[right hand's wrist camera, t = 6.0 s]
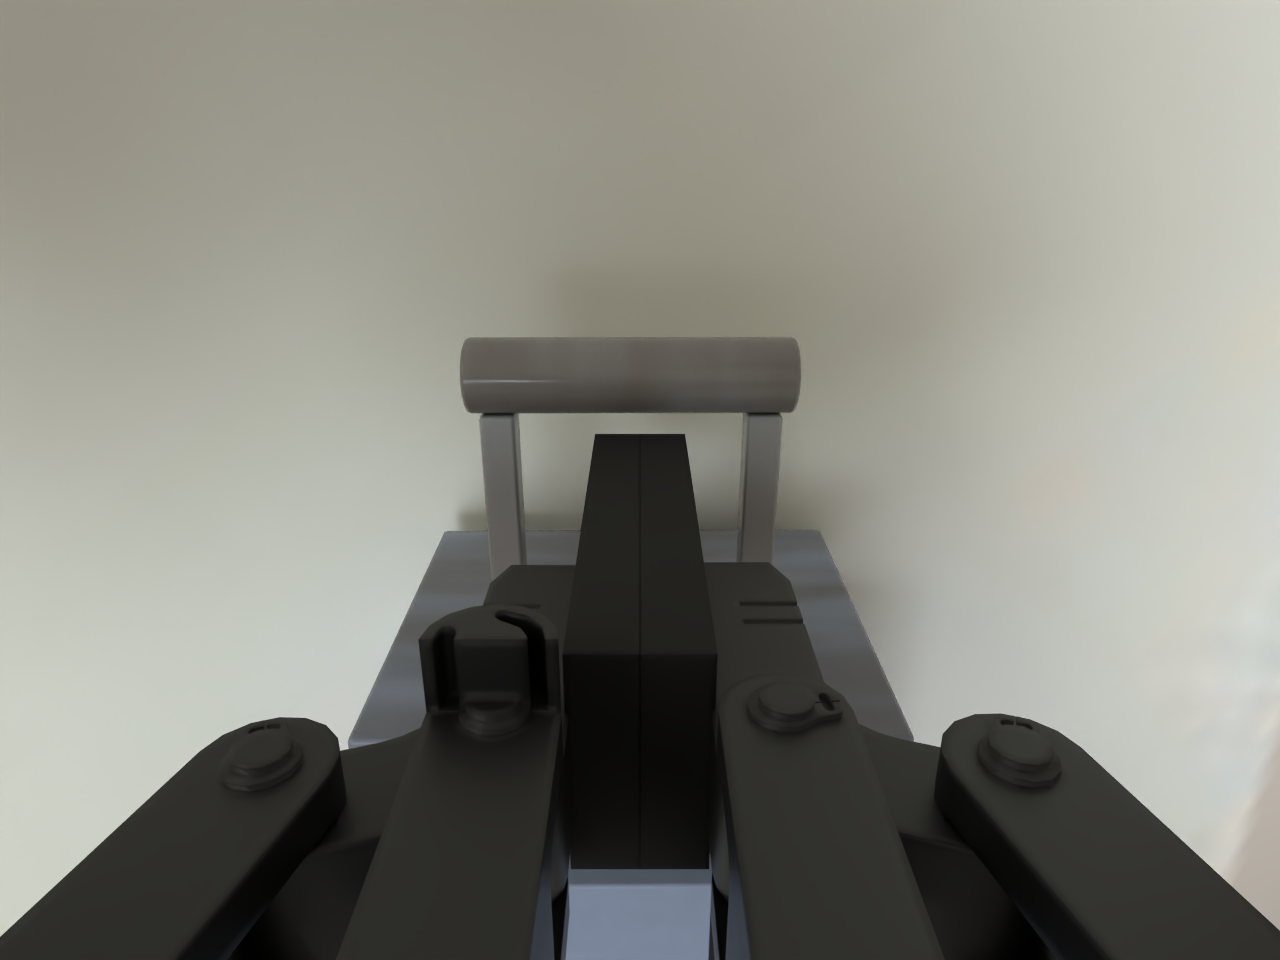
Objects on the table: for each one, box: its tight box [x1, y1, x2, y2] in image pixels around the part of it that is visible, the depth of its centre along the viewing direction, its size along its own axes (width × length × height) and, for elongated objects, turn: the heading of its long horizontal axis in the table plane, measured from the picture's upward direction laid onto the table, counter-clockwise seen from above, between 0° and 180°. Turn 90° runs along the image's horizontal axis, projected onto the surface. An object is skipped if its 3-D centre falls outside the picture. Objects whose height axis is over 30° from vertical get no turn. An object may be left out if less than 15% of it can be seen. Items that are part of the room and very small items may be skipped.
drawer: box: [348, 337, 914, 749], centre depth 20 cm, size 25×9×8 cm, turn 0°
